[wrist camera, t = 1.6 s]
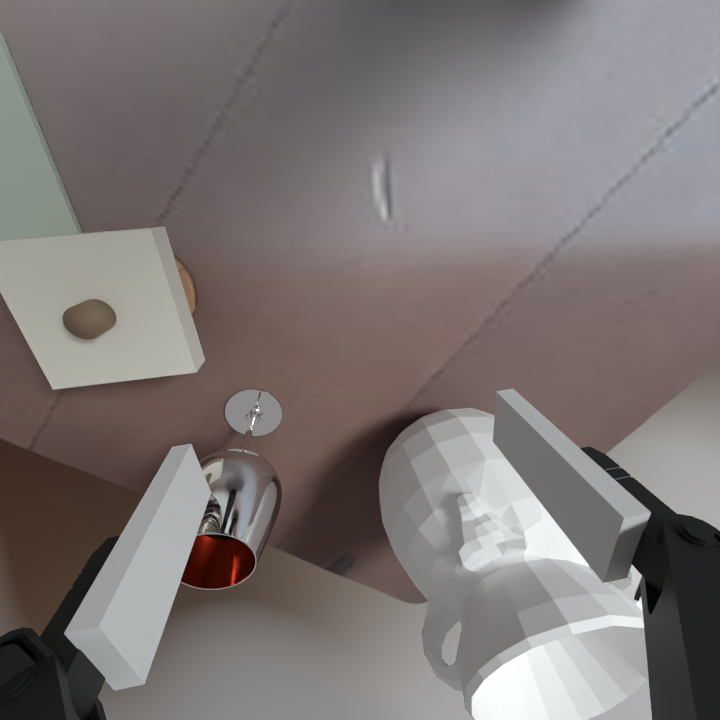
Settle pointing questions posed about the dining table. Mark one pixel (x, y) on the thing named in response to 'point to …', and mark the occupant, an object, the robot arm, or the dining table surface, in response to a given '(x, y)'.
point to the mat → (27, 167)
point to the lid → (100, 306)
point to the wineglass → (237, 499)
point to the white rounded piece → (504, 580)
